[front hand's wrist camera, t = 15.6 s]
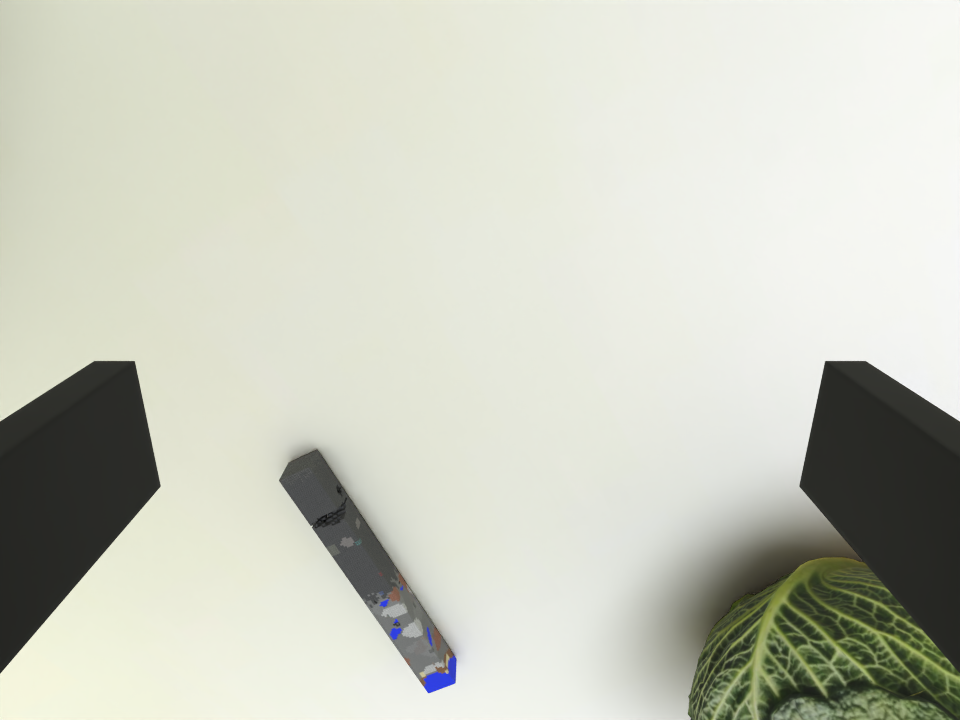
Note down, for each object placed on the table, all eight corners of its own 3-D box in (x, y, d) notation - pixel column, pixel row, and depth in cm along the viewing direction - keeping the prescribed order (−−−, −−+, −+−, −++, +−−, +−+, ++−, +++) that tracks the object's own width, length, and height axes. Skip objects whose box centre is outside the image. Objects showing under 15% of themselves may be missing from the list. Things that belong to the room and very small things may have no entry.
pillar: (308, 466, 39) (457, 686, 46) (317, 449, 41) (458, 662, 48) (279, 480, 40) (430, 696, 46) (288, 462, 42) (432, 671, 48)
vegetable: (680, 540, 52) (603, 783, 37) (904, 427, 39) (921, 733, 24) (861, 704, 52) (855, 1012, 37) (1146, 646, 39) (1310, 1086, 24)
